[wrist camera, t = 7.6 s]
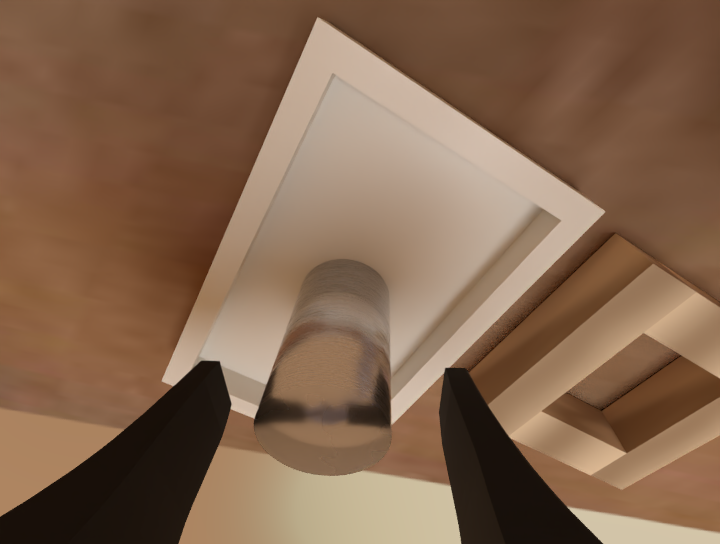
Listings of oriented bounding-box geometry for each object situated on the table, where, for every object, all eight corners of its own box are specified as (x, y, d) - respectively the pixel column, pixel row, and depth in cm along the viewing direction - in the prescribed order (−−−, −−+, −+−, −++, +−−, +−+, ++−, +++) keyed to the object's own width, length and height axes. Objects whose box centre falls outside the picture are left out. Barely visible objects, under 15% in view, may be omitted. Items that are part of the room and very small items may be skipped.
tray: (579, 191, 15) (605, 211, 13) (359, 428, 23) (357, 459, 21) (327, 21, 12) (317, 17, 10) (180, 352, 20) (161, 381, 18)
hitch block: (771, 336, 17) (825, 377, 15) (598, 446, 22) (621, 489, 20) (615, 233, 15) (653, 263, 13) (461, 379, 20) (470, 419, 18)
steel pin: (403, 316, 17) (412, 459, 11) (327, 342, 18) (298, 485, 12) (365, 245, 16) (353, 368, 10) (283, 278, 17) (226, 408, 11)
